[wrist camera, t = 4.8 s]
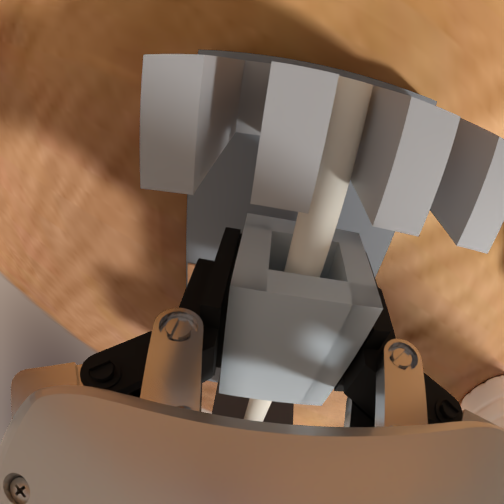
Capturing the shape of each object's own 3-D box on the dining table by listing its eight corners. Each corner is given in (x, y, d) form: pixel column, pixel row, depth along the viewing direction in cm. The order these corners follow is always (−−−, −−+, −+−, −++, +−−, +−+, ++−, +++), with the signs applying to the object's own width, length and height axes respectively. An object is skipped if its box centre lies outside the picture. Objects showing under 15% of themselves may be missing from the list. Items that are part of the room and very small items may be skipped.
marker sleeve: (247, 212, 9) (230, 286, 7) (358, 232, 9) (383, 308, 7) (232, 321, 12) (218, 393, 10) (318, 334, 12) (321, 405, 10)
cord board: (208, 51, 10) (98, 41, 4) (421, 96, 10) (554, 157, 4) (193, 360, 22) (168, 457, 15) (311, 378, 22) (311, 476, 15)
